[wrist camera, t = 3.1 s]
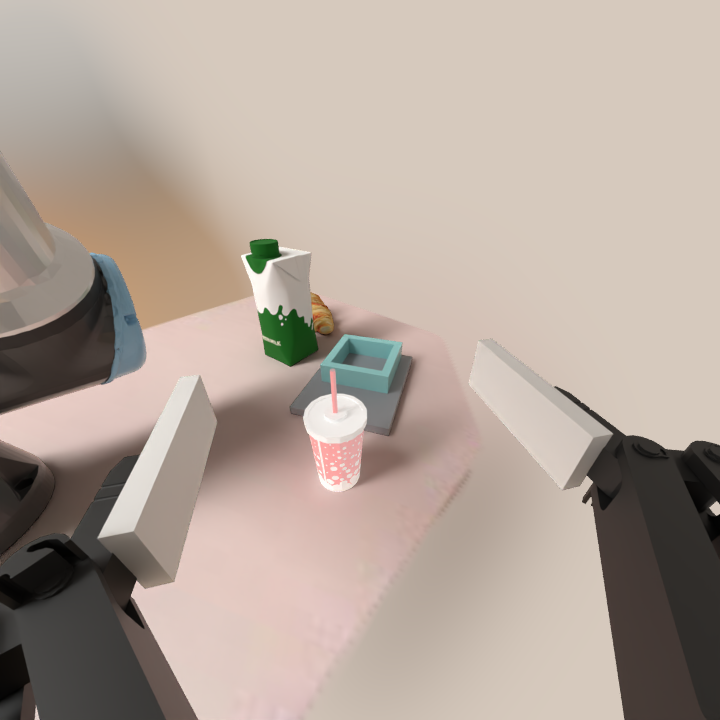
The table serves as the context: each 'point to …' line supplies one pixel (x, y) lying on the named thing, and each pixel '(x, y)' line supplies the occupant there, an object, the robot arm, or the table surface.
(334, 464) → the beverage cup
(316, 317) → the croissant
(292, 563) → the table surface
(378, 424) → the dock
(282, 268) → the milk carton
